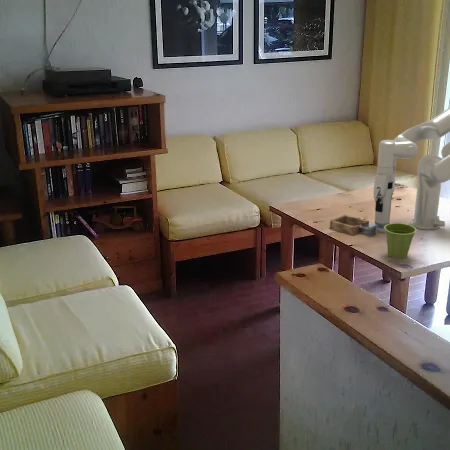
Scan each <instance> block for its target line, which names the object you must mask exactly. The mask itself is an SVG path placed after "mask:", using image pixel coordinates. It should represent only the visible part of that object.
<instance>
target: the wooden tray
mask: <svg viewBox="0 0 450 450" xmlns="http://www.w3.org/2000/svg"><path fill="white" fill-rule="evenodd" d="M360 225H364V226H367V227H369V225H370V221H369V220H366V219H362V218H360V217H359V218H358V217H355V216H352V215H349V214H348V215H347V214H343V215H341V216H339V217H336V218H334V219H332V220H330V221H329V229H331V230H334V231H338V232H341V233H345V234H347V233H348V235H351V236H356V235H358V234H360V233H359V226H360Z"/></svg>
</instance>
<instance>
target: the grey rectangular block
mask: <svg viewBox="0 0 450 450" xmlns="http://www.w3.org/2000/svg"><path fill="white" fill-rule="evenodd" d="M358 234H362V235H366V236H367V237H372V236H374V235H376V234H377V230H376V227H375V226H372V227H367V226H364V225H360V226H359V233H358Z"/></svg>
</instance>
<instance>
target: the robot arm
mask: <svg viewBox="0 0 450 450" xmlns="http://www.w3.org/2000/svg"><path fill="white" fill-rule="evenodd" d="M448 133H450V107H448V108H447V109H445V110H443V111H442V112H440V113H439V114H438V115H436V116H434V117H433V118H432V119H429V120H427V121H424V122H422V123H420V124H417V125H414V126H411V127H409V128H408V129H406V130H405V131H403V132H402V133H400V134H399V135H397V136H396V137H395V138H394V139H383V140H381V141H380V142H379V143H378V145H379V146H378V156H377V157H378V158H377V168H376V175H375V178H374V179H375V180H374V184H373V194H372V195H373V199H374V203H375V207H374V209H375V210H374V211H377V212H382V210H383V203H382V202H383V198H384V197H385V196H386V193H387V188H388V183H392V182H393V189H392V196H393V195H394V192H395V190H396V189H395V187H396V185H395V184H396V170H397V169H396V168H397V159H404V160H406V159H407V160H410V159H412V158H415V157H416V156H417V154H418V153H419V146H418V144H417V143H420V142H423V141H426V140H435V139H440V138H443V137H444V136H445V135H447V134H448ZM440 151H441V152H440V153H441V156H442V157H440V156H438V155H435V154H432V153H431V154H430V153H429V154H425V155H424V156H422V157H421V158H420V159H419V161H418V164H417V186H416V187H417V190H416V196H415V197H416V198H415V205H414V214H413V218H412V219H411V220H409V225H411V226H413V227H415V228H416V229H417V230H418V229H419V230H428V231H433V230H437V229H439V228H440V227H443V228H444V227H445V226H446V223H445V222H446V221H445V220H440V215H439V214H438V213H439V205H440V197H441V190H442V189H441V188H442V183H446V182H448V181H450V141H449V142H448V143H446V144H445V145H444V146H443V147H442V148H441V150H440ZM379 194H381V196H379ZM379 197H381V200H380V199H379ZM438 215H439V216H438Z"/></svg>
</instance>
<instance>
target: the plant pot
mask: <svg viewBox="0 0 450 450" xmlns="http://www.w3.org/2000/svg"><path fill="white" fill-rule="evenodd" d="M384 229H385V230H386V233H385V236H386V245H387V254H388V256H389V257H390V258H395V259H405V258H407V257H408V254H409V251H410V247H411V244H412V240H413V238H414V235H415V234H416V232H417V228H415V227H413V226H411V225H410V224H408V223H403V222H393V223H390V222H389V224H387V225H385V226H384Z"/></svg>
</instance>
